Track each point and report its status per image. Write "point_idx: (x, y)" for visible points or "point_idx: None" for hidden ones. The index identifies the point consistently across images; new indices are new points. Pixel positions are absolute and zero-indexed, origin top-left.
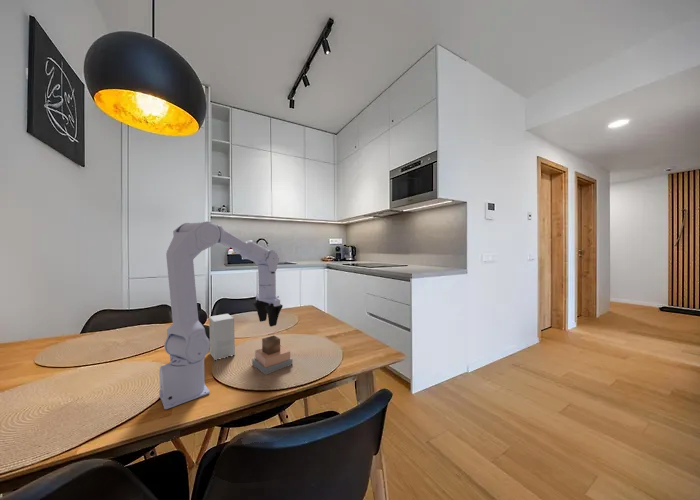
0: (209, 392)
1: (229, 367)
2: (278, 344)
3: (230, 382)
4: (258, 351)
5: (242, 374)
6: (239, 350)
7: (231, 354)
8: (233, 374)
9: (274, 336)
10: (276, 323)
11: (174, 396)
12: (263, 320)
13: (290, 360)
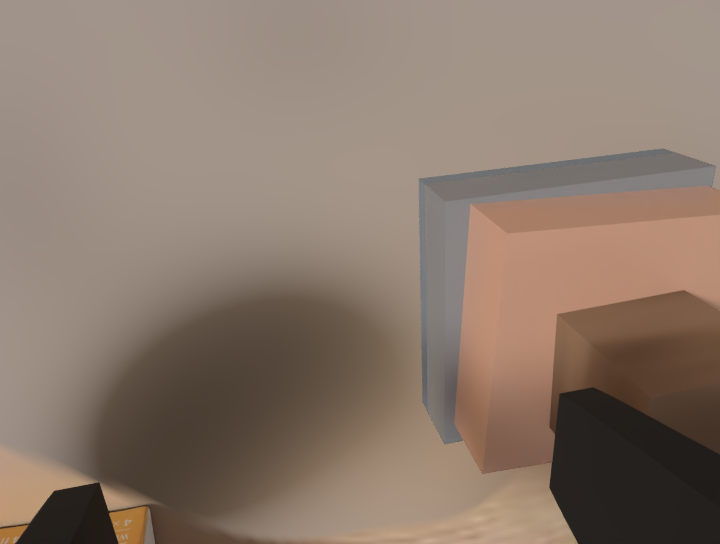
0: None
1: (355, 540)
2: None
3: (555, 540)
4: (524, 454)
5: (518, 482)
6: (24, 460)
7: (153, 541)
8: (476, 524)
9: (688, 400)
10: (622, 403)
11: None
12: (110, 541)
13: (705, 184)
